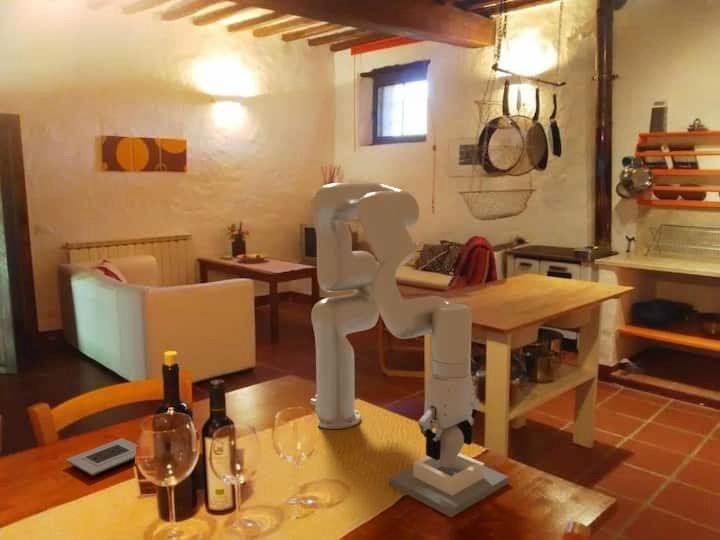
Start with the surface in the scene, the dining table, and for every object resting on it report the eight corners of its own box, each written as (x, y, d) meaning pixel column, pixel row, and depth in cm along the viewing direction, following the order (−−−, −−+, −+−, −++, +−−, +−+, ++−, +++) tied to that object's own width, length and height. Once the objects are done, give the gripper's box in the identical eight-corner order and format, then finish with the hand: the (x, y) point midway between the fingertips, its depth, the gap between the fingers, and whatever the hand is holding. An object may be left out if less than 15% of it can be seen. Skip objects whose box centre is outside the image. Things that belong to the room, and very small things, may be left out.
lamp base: (388, 484, 121) (388, 463, 120) (446, 456, 133) (446, 437, 132) (450, 517, 109) (451, 494, 109) (508, 483, 121) (508, 462, 121)
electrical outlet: (92, 483, 123) (91, 472, 122) (66, 468, 129) (65, 457, 129) (149, 459, 133) (148, 449, 133) (122, 446, 139) (121, 436, 139)
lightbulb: (454, 467, 125) (455, 417, 123) (468, 481, 119) (469, 428, 117) (427, 472, 123) (428, 421, 121) (440, 486, 117) (441, 433, 115)
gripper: (463, 354, 126) (461, 431, 128) (406, 372, 114) (405, 457, 117) (493, 362, 120) (490, 443, 123) (436, 382, 109) (434, 471, 111)
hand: (449, 449), depth 120 cm, fingers open, 9 cm apart
